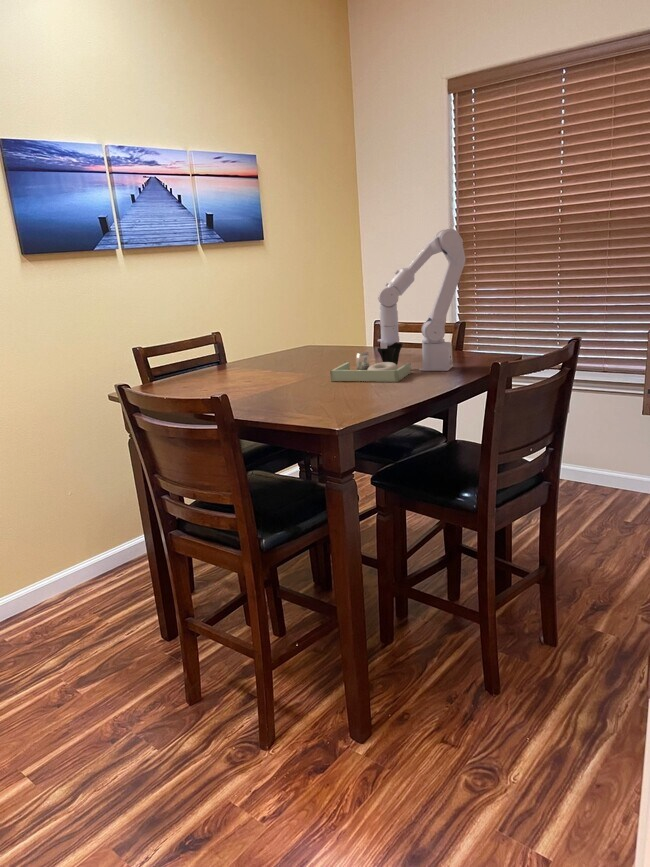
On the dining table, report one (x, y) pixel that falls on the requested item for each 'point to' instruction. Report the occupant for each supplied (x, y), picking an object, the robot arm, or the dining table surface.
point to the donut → (383, 366)
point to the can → (362, 361)
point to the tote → (369, 374)
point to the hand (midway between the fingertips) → (391, 367)
